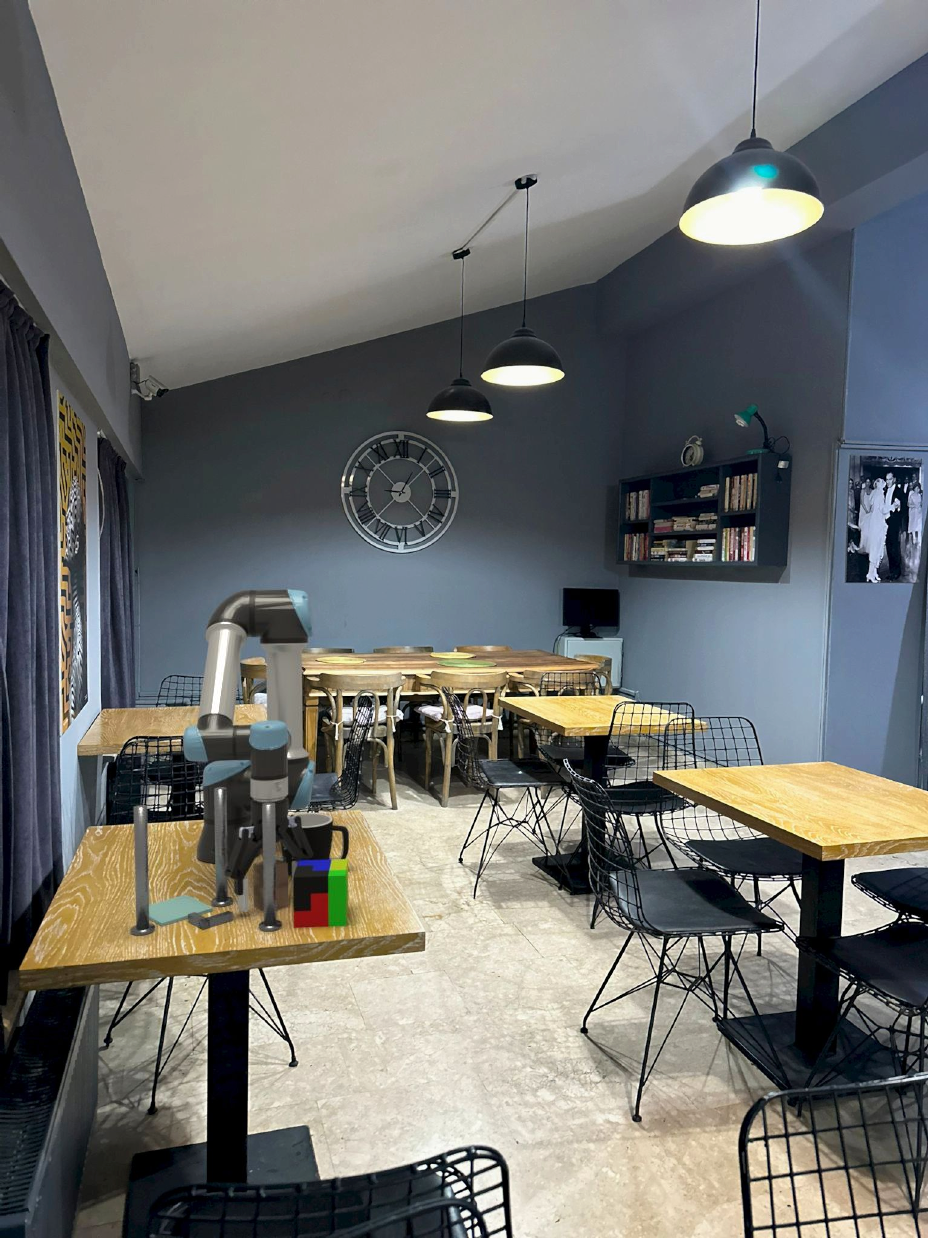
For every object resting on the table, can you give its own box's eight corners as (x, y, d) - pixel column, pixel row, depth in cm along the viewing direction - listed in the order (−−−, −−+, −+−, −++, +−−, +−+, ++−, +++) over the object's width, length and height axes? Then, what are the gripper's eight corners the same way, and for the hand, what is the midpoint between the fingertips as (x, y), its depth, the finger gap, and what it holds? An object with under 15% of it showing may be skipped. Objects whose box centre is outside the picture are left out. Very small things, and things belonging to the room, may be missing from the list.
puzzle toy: (299, 908, 177) (298, 860, 177) (348, 907, 178) (348, 859, 177) (293, 928, 167) (293, 877, 167) (345, 926, 168) (345, 875, 167)
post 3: (254, 927, 167) (252, 804, 166) (273, 920, 171) (272, 800, 170) (266, 933, 164) (265, 808, 163) (286, 927, 167) (284, 804, 166)
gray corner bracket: (188, 921, 170) (187, 914, 170) (217, 912, 175) (217, 905, 175) (202, 929, 166) (202, 922, 166) (232, 920, 171) (232, 912, 171)
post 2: (207, 903, 180) (205, 788, 179) (226, 897, 183) (224, 785, 182) (218, 908, 177) (216, 792, 176) (237, 903, 180) (235, 788, 179)
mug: (259, 868, 202) (258, 817, 201) (321, 855, 211) (321, 806, 211) (289, 888, 189) (289, 834, 188) (354, 873, 198) (354, 821, 198)
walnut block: (253, 907, 178) (253, 863, 178) (274, 900, 182) (274, 858, 181) (267, 913, 174) (266, 869, 174) (288, 906, 178) (287, 863, 178)
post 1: (126, 931, 166) (124, 807, 165) (148, 924, 169) (146, 802, 168) (136, 937, 163) (134, 811, 162) (159, 930, 166) (156, 806, 165)
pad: (136, 911, 176) (135, 908, 176) (186, 897, 184) (186, 894, 183) (161, 926, 168) (161, 923, 168) (212, 911, 176) (212, 908, 176)
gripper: (225, 812, 166) (227, 923, 167) (329, 790, 183) (330, 890, 184) (205, 805, 171) (207, 912, 172) (308, 784, 188) (309, 882, 189)
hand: (270, 901), depth 178 cm, fingers open, 12 cm apart
